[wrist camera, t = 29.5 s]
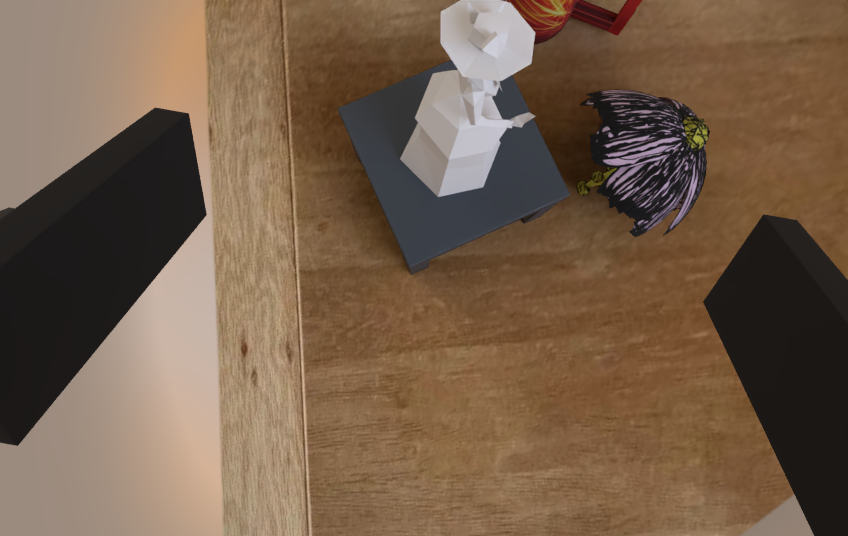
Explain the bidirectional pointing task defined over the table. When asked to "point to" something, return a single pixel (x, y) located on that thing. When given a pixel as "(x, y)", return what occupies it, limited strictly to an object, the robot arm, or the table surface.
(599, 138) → the decorative flower
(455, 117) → the figurine
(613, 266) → the table surface
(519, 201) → the stand
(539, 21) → the mug
